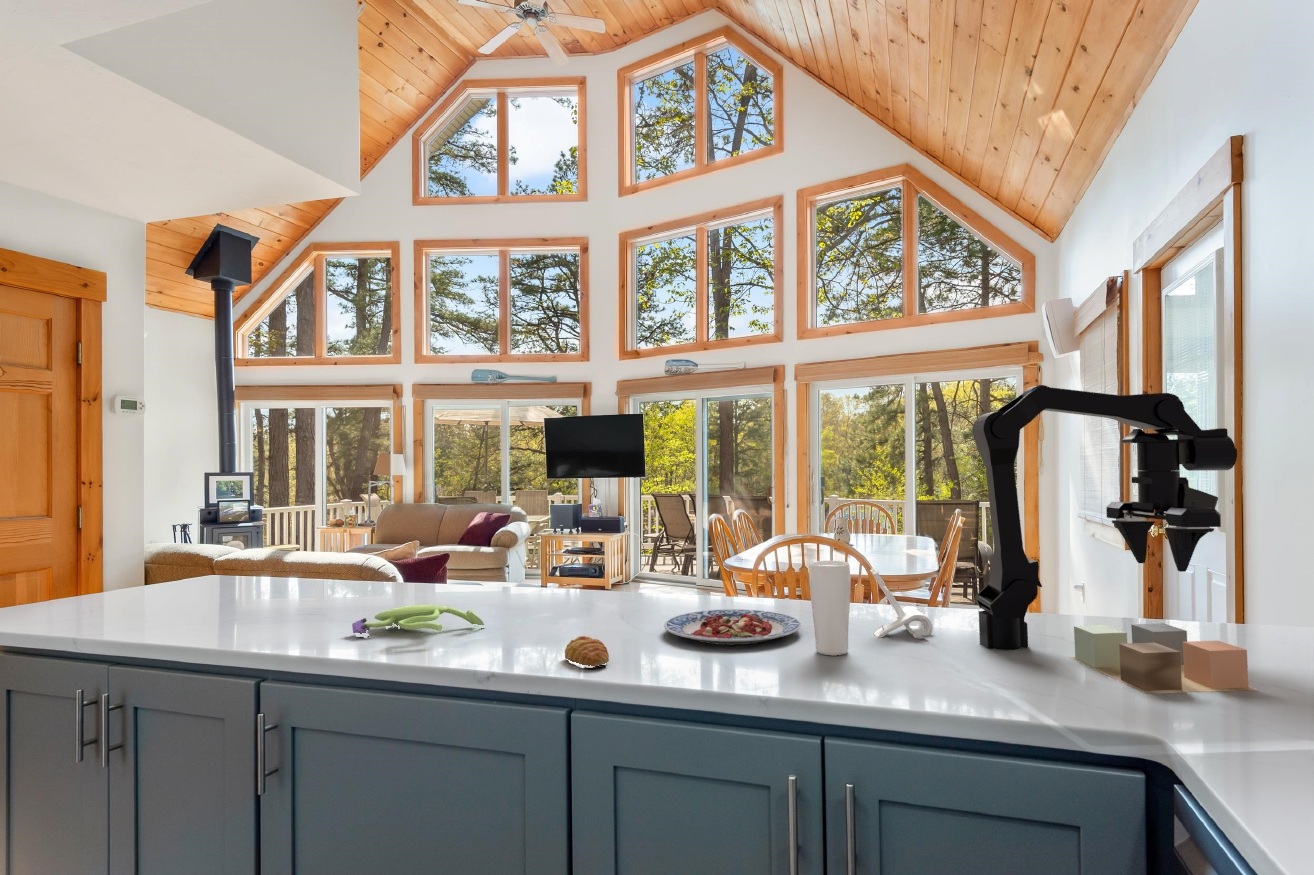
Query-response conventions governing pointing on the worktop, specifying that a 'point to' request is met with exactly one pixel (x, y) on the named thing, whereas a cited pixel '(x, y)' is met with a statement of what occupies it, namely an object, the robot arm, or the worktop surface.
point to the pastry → (587, 651)
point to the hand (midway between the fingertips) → (1161, 567)
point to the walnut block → (1150, 666)
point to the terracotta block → (1215, 664)
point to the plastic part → (903, 615)
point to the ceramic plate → (732, 626)
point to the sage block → (1098, 645)
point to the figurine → (414, 618)
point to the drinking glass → (830, 605)
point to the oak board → (1186, 687)
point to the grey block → (1160, 636)
